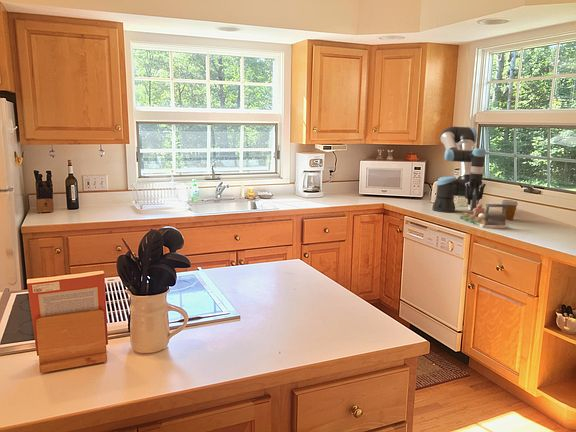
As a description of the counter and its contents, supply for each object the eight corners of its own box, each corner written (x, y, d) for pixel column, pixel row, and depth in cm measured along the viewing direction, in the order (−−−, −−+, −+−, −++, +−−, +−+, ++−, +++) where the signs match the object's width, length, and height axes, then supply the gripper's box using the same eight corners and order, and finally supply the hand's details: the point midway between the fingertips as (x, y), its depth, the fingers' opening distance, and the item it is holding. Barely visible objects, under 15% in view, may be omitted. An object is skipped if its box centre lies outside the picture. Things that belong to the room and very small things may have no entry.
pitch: (459, 218, 304) (462, 197, 301) (482, 218, 306) (485, 197, 303) (482, 227, 278) (485, 204, 276) (507, 227, 281) (510, 204, 278)
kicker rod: (465, 214, 306) (468, 194, 303) (474, 214, 307) (476, 194, 304) (475, 218, 295) (477, 197, 293) (484, 218, 296) (486, 197, 294)
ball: (476, 219, 296) (477, 212, 295) (482, 219, 296) (483, 212, 295) (479, 220, 292) (480, 214, 291) (485, 220, 292) (486, 214, 292)
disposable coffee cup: (512, 218, 311) (514, 200, 309) (517, 221, 302) (520, 202, 299) (497, 217, 312) (499, 199, 310) (502, 220, 303) (504, 201, 300)
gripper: (467, 173, 295) (463, 210, 299) (491, 174, 297) (487, 211, 302) (461, 172, 302) (457, 208, 306) (485, 172, 304) (480, 208, 309)
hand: (472, 209), depth 304 cm, fingers closed on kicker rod, 3 cm apart
